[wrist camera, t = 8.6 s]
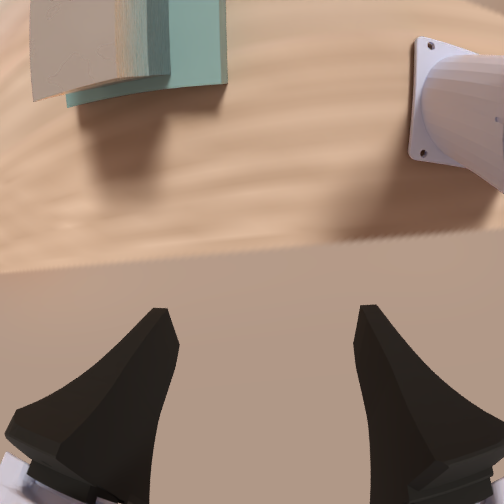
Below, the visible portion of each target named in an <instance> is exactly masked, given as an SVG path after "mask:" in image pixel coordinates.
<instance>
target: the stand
mask: <svg viewBox="0 0 504 504" xmlns="http://www.w3.org/2000/svg"><path fill="white" fill-rule="evenodd" d="M169 37H170V61H171V75H165V76H159V77H152V78H146V79H140V80H135V81H129V82H124V83H119V84H115V85H110V86H106V87H101V88H95V89H90V90H84V91H79V92H74V93H69V94H66V102H67V108H69V107H73V106H77V105H81V104H85V103H89V102H94V101H98V100H103V99H108V98H113V97H118V96H123V95H129V94H135V93H141V92H148V91H155V90H162V89H170V88H179V87H189V86H200V85H214V84H227V83H228V74H227V40H226V0H169Z"/></svg>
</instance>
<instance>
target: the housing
mask: <svg viewBox="0 0 504 504" xmlns="http://www.w3.org/2000/svg"><path fill="white" fill-rule="evenodd" d="M30 68H31V83H32V94H33V102H35V101H39V100H43V99H47V98H51V97H56V96H60V95H64V94H69V93H74V92H79V91H84V90H90V89H95V88H101V87H106V86H110V85H115V84H119V83H124V82H129V81H135V80H140V79H146V78H152V77H159V76H165V75H171V61H170V37H169V0H31V3H30Z"/></svg>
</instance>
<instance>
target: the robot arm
mask: <svg viewBox="0 0 504 504" xmlns="http://www.w3.org/2000/svg"><path fill="white" fill-rule="evenodd" d="M428 42H429V43H430V44H431V45H432V49H431V50H430V49H429V48H428V45H427V44H428ZM422 150H425V154H424V155H423V156H420V152H421V151H422ZM408 154H409V156H410V157H411V158H412V159H414V160H418V161H425V162H432V163H438V164H445V165H451V166H456V167H462V168H467V169H469V170H471V171H472V172H473V173H475V174H476V175H478V176H479V177H481V178H482V179H484V180H485V181H487V182H488V183H489V184H491V185H492V186H494V187H495V188H496V189H498V190H499V191H500V192H502V193H503V194H504V56H503V55H479V54H477V53H474V52H471V51H469V50H466V49H463V48H460V47H457V46H454V45H451V44H448V43H444V42H441V41H438V40H434V39H431V38H427V37H422V36H420V37H417V38H416V39H415V42H414V86H413V103H412V116H411V127H410V137H409V146H408ZM179 345H180V344H179V341H178V339H177V336H176V333H175V330H174V327H173V324H172V321H171V318H170V315H169V312H168V309H166V308H153V309H152V310H151V311H150V312H149V313H148V314H147V315H146V316H145V317H144V318H143V319H142V320H141V321H140V322H139V323H138V324H137V325H136V326H135V327H134V328H133V329H132V330H131V331H130V332H129V333H128V334H127V335H126V336H125V337H124V338H123V339H122V340H121V341H120V342H119V343H118V344H117V345H116V346H115V347H114V348H113V349H111V350H110V351H109V352H108V353H107V354H106V355H105V356H104V357H103V358H102V359H101V360H99V362H97V363H96V364H95V365H94V366H92V367H91V368H90V369H89V370H87V371H86V372H85V373H83V374H82V375H81V376H79V377H78V378H76V379H75V380H73V381H72V382H70V383H69V384H67V385H66V386H64V387H63V388H61V389H59V390H58V391H56V392H54V393H53V394H51V395H49V396H47V397H45V398H43V399H41V400H39V401H37V402H34V403H32V404H30V405H27V406H25V407H23V408H20V409H17V410H16V412H15V414H14V416H13V417H12V420H11V421H10V423H9V425H8V428H7V430H6V432H5V436H6V438H7V439H8V440H9V441H10V442H11V443H12V444H13V445H14V446H16V447H17V448H18V449H19V450H20V451H22V452H23V453H24V454H25V455H27V456H28V457H29V458H30V459H32V461H31V464H28V463H26V462H25V461H23V460H21V459H20V458H18V457H16V456H14V455H13V454H11V453H9V452H6V453H5V456H4V458H3V460H2V462H1V465H0V504H118V503H121V504H149V491H150V475H151V464H152V456H153V449H154V442H155V436H156V430H157V425H158V420H159V417H160V413H161V410H162V407H163V404H164V401H165V398H166V395H167V392H168V388H169V385H170V382H171V379H172V376H173V373H174V370H175V366H176V362H177V356H178V351H179ZM353 345H354V355H355V363H356V369H357V373H358V378H359V383H360V387H361V391H362V396H363V400H364V405H365V410H366V414H367V420H368V428H369V440H370V460H371V491H370V504H504V477H502V478H500V479H498V480H496V481H495V482H493V483H491V481H490V477H491V476H493V469H492V466H493V465H494V464H496V463H497V462H498V461H499V460H501V459H502V458H503V457H504V422H503V421H501V420H500V419H498V418H496V417H494V416H492V415H490V414H489V413H486V412H485V411H483V410H482V409H480V408H479V407H477V406H476V405H474V404H472V403H471V402H470V401H468V400H467V399H465V398H464V397H463V396H461V395H460V394H459V393H458V392H456V391H455V390H454V389H452V388H451V387H450V386H449V385H447V384H446V383H445V382H444V381H443V380H442V379H440V378H439V377H438V376H437V375H436V374H435V373H434V372H433V371H432V370H431V369H430V368H429V367H428V366H427V365H426V364H425V363H424V362H423V361H422V360H421V359H420V357H418V355H417V354H416V353H415V352H414V351H413V350H412V349H411V347H410V346H409V345H408V344H407V343H406V342H405V340H404V339H403V338H402V337H401V336H400V334H399V333H398V332H397V331H396V329H395V328H394V327H393V326H392V324H391V323H390V321H389V320H388V319H387V318H386V316H385V315H384V314H383V312H382V311H381V310H380V309H379V307H378V306H377V305H361V306H360V311H359V316H358V322H357V328H356V332H355V338H354V342H353Z"/></svg>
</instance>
